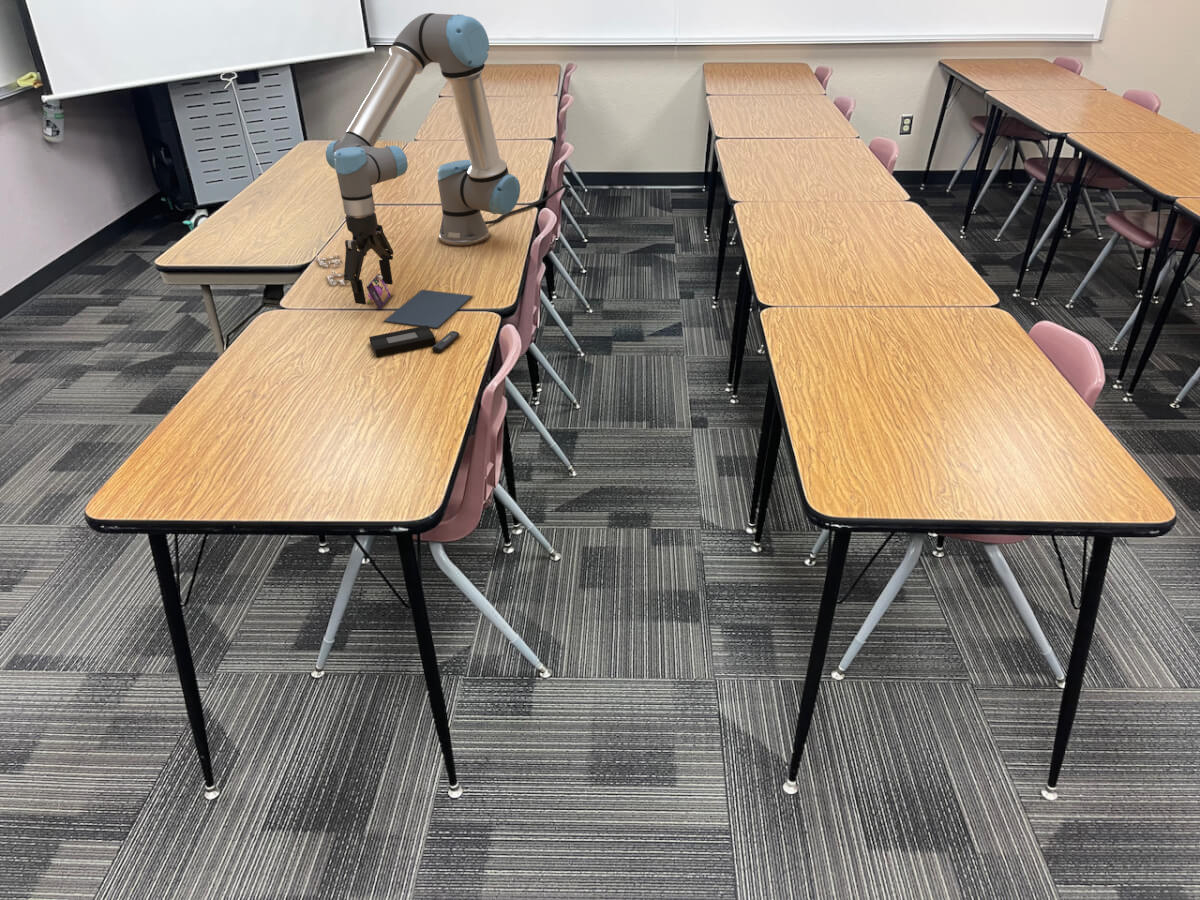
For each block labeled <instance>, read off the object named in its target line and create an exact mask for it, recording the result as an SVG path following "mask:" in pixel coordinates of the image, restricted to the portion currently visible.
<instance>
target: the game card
mask: <svg viewBox="0 0 1200 900" xmlns="http://www.w3.org/2000/svg"><path fill="white" fill-rule="evenodd" d="M382 278H383V277H382V276H381V273H377V274H376V276H374V277H373V279H372V280H371V281H370V282H369V283H368V284H367V285H366V287H365V288H366V290H367V292H368V298H369V299H368V301H367V304H370V303H371V302H372V301H373V302H374V304H375V306H376V308H377V309H378V311H380V310H381V309H382V308H383V307H384V305H385V304H386V303H387V302H388V300H390V298H391V297H392V294H391V292H390V291H389V288H388V287H387V284H385V283H384V281H383V279H382ZM380 282H381V284H382V285H383V286H380V284H378V283H380ZM383 288H384V289H385V290H386V291H385V292H387V293H386V296H387V298H385V300H384V301H383V300H382V298H381V296H382V295H383V293H384V290H383Z"/></svg>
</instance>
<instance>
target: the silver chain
mask: <svg viewBox="0 0 1200 900" xmlns="http://www.w3.org/2000/svg"><path fill="white" fill-rule="evenodd" d="M334 255H335V259H334V256H332V255H330V256H329V260H328V264H329V265H331V263H332V264H333V268H334V269H336V268H339V265H342V263H341V260H340V259H338V254H337V253H336V252H335V253H334ZM315 259H316V262H317V261H318V264H319V266H320V267H324V268H326V269H328V268H329V265H328V264H327V262H325V261H327V257H322V258H319V257H318V255H315ZM331 259H332V260H331ZM330 260H331V261H330ZM334 277H339V278H340V277H343V274H342V273H341V272H340V274H339V273H336V270H331V274H330V275H327V281H328V283H329V285H330V286H331V287H332V286H336V285H338V282H339V283H340V286H343V287H344V286H345V287H346V285H349V283H351V282H350V281H348V282H347V283H346V284H345V282H344V281H345V280H344V279H343V278H342V279H339V280H336V279H335V280H334V279H333V278H334Z"/></svg>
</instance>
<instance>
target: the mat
mask: <svg viewBox="0 0 1200 900" xmlns="http://www.w3.org/2000/svg"><path fill="white" fill-rule="evenodd" d="M472 297H473V296H472V295H470V294H469V295H468V294H459V293H452V292H451V293H450V292H443V291H435V290H427V289H421V290H420V291H418V292H417V293H416V294H415V295H414V296H413V297H411V298H410V299H409V300H407V301H406V302H405V303H404V304H402V306H400V307H399V308H398V309H397V310H395V311H394V312H393V313H392V314H390V315H389V316H388V317H387V318H386V319H384V323H388V324H389V323H390V324H396V325H397V324H398V325H405V326H412V327H421V326H426V325H428V327H429V328H430V329H435V330H438V329H439V328H440V327H441V326H442V325H443V324H444V323H446V321H448V320H449V319H450V318H451V317H452V316H453V315H455V313H457V311H459V310H460V309H461V308H462V307H463V306H464V305H465V304H466V303H467V302H469V301H470V300H471V299H472Z"/></svg>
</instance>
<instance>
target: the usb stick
mask: <svg viewBox="0 0 1200 900" xmlns="http://www.w3.org/2000/svg"><path fill="white" fill-rule="evenodd" d="M459 336H460V332H458V331H456V330H451V331H449V332H448V333H447V334H446V335H444V337H442V338H441V339H439V341H438V342H436V344H435V345H432V346H431V350H432V351H433V352H434V353H441V352H442V351H444V349H446V348H447V347H449V346H450V345H451V344H452V343H453V342H454V341H456V339H457V338H459Z"/></svg>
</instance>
